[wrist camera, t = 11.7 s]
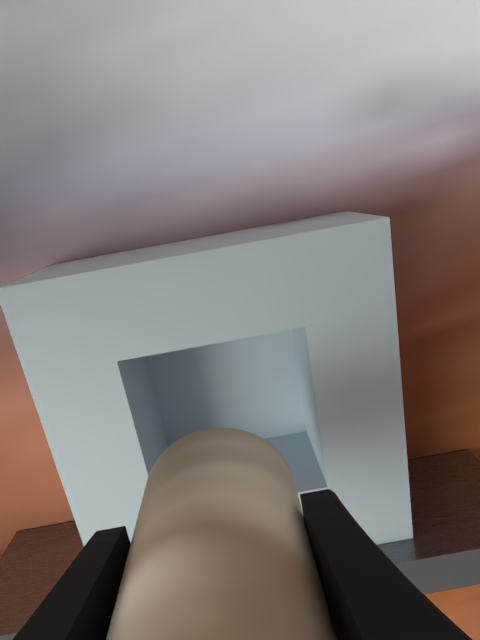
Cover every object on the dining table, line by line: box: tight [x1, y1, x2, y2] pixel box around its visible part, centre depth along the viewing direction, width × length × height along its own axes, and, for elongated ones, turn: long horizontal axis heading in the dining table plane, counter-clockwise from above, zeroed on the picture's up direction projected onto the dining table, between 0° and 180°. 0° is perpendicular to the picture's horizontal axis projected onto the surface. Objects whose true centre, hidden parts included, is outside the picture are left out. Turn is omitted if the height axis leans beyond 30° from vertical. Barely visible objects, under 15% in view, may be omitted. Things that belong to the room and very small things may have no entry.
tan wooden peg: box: [106, 428, 337, 640], centre depth 7 cm, size 4×4×7 cm
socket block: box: [0, 211, 413, 546], centre depth 16 cm, size 11×11×4 cm
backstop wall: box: [0, 450, 480, 640], centre depth 17 cm, size 20×2×5 cm, turn 100°
